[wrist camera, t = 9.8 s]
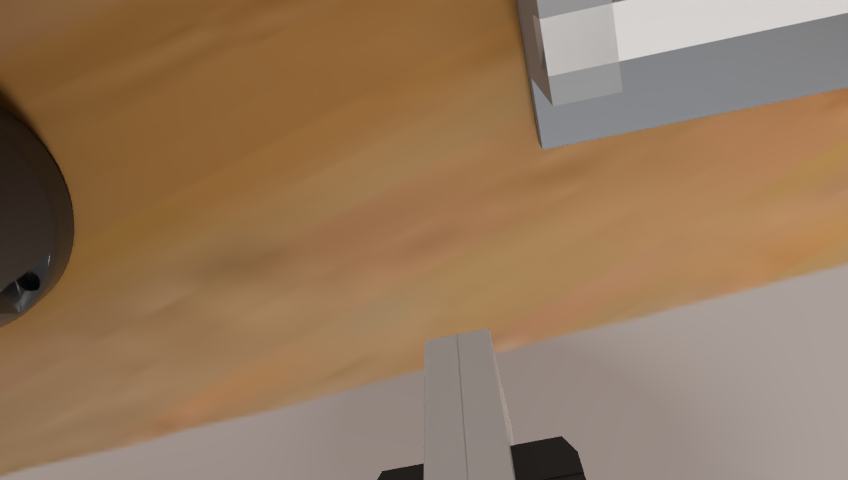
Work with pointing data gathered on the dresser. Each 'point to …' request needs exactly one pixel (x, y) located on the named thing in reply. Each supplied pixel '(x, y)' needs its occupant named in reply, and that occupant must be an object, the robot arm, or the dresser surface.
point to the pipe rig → (673, 60)
